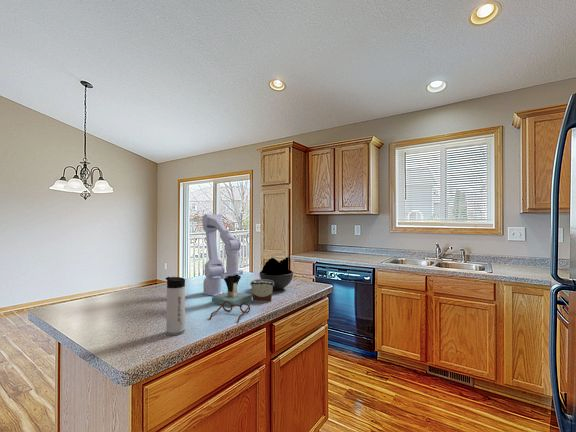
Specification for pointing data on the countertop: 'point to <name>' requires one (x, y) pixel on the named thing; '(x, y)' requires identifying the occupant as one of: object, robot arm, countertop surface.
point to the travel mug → (175, 306)
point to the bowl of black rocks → (277, 273)
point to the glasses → (231, 309)
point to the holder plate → (232, 299)
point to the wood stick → (233, 291)
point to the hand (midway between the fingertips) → (232, 290)
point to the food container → (262, 290)
